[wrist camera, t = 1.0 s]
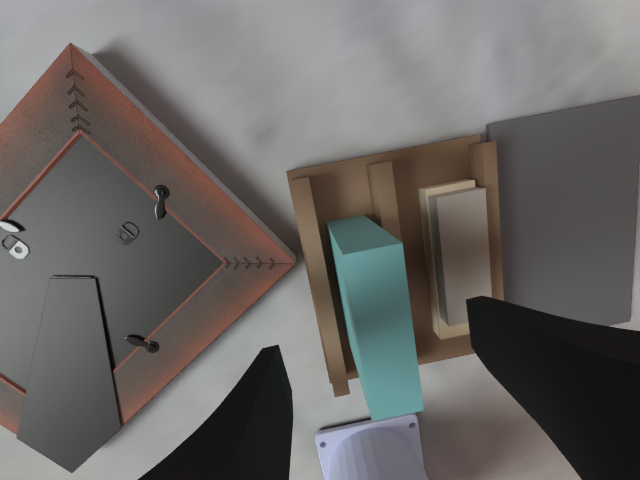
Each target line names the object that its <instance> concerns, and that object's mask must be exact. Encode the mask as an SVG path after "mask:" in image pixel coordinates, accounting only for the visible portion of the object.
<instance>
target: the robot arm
mask: <svg viewBox="0 0 640 480" xmlns="http://www.w3.org/2000/svg"><path fill="white" fill-rule="evenodd" d="M466 306H467V315H468V323H469V331H470V340H471V347H472V348H473V350H474V351H475V353H476V354H477V356H478V357H479V359H480V360H481V361H482V363H483V364H484V365H485V367H486V368H487V369H488V371H489V372H490V373H491V374H492V375H493V376H494V377H495V378H496V379H497V380H498V382H499V383H500V384H501V385H502V386H503V387H504V388H505V389H506V390H507V391H508V392H509V393H510V394H511V395H512V397H513V398H514V399H515V400H516V401H517V402H518V403H519V404H520V405H521V406H522V407H523V408H524V409H525V410H526V411H527V413H528V414H529V415H530V416H531V417H532V418H533V419H534V420H535V421H536V422H537V423H538V424H539V426H540V427H541V428H542V429H543V430H544V431H545V432H546V434H547V435H548V436H549V437H550V439H551V440H552V441H553V442H554V444H555V445H556V446H557V448H558V449H559V450H560V451H561V453H562V454H563V455H564V456H565V458H566V459H567V460H568V462H569V463H570V464H571V465H572V467H573V468H574V469H575V471H576V472H577V473H578V475H579V476H580V478H581V479H582V480H640V331H634V330H627V329H621V328H614V327H609V326H603V325H598V324H592V323H587V322H582V321H578V320H573V319H569V318H565V317H561V316H556V315H552V314H549V313H545V312H541V311H537V310H534V309H530V308H527V307H523V306H520V305H516V304H513V303H509V302H506V301H502V300H499V299H495V298H491V297H486V296H478V297H474V298H469V299H466ZM410 423H413V424H410ZM292 428H293V402H292V389H291V386H290V383H289V379H288V376H287V372H286V369H285V366H284V362H283V359H282V355H281V352H280V348H279V345H275V346H271V347H267V348H262V350H261V351H260V352H259V354H258V355H257V357H256V358H255V360H254V361H253V362H252V364H251V365H250V367H249V368H248V369H247V371H246V372H245V374H244V375H243V376H242V378H241V379H240V380H239V382H238V383H237V385H236V386H235V387H234V388H233V389H232V391H231V392H230V393H229V394H228V396H227V397H226V398H225V399H224V401H223V402H222V403H221V404H220V405H219V407H218V408H217V409H216V410H215V411H214V412H213V413H212V414H211V415H210V417H209V418H208V419H207V420H206V421H205V422H204V423H203V424H202V425H201V426H200V427H199V428H198V429H197V430H196V431H195V432H194V433H193V434H192V435H190V436H189V437H188V438H187V439H186V440H185V441H184V442H183V443H182V444H181V445H179V446H178V447H177V448H176V449H175V450H174V451H173V452H172V453H171V454H169V455H168V456H167V457H166V458H165V459H163V460H162V461H161V462H160V463H158V464H157V465H156V466H155V467H154V468H152V469H151V470H150V471H148V472H147V473H146V474H144V475H143V476H142V477H141V478H139V479H138V480H289V470H290V456H291V443H292ZM315 441H316V445H317V449H318V454H319V458H320V462H321V466H322V471H323V475H324V479H325V480H428V477H427V475H426V473H425V470H424V463H423V456H422V448H421V441H420V433H419V426H418V418H417V416H416V414H415V413H410V414H405V415H401V416H396V417H391V418H386V419H382V420H377V421H372V420H367V421H362V422H358V423H353V424H348V425H344V426H339V427H334V428H329V429H325V430H320V431H318V432H317V433H316V434H315ZM321 442H325V443H321Z"/></svg>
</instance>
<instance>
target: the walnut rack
mask: <svg viewBox="0 0 640 480" xmlns="http://www.w3.org/2000/svg"><path fill="white" fill-rule="evenodd" d="M286 172H287V177H288V182H289V187H290V192H291V196H292V201H293V206H294V211H295V216H296V221H297V225H298V230H299V235H300V240H301V245H302V250H303V254H304V259H305V264H306V269H307V274H308V279H309V283H310V288H311V293H312V298H313V303H314V307H315V312H316V317H317V322H318V327H319V332H320V336H321V341H322V346H323V351H324V356H325V361H326V365H327V370H328V375H329V380H330V383H332V385H333V390H334V395H335V397H338V396H343V395H348V394H350V391H349V385H348V380H349V379H354V378H359V375H358V371H357V368H356V364H355V361H354V357H353V354H352V351H351V347H350V344H349V340H348V337H347V332H346V327H345V322H344V316H343V311H342V305H341V300H340V294H339V289H338V284H337V278H336V273H335V267H334V262H333V256H332V251H331V246H330V240H329V235H328V229H327V224H326V222H330V221H335V220H341V219H346V218H351V217H356V216H361V215H364V216H366V217H367V218H369V219H370V220H371V221H373V222H374V223H375V224H377V225H378V226H380V227H381V228H382V229H384V230H385V231H386V232H388V233H389V234H391V235H392V236H393V237H395V238H396V239H398V240H399V241H400V242H402V243H403V251H404V259H405V267H406V275H407V283H408V291H409V299H410V307H411V314H412V322H413V330H414V338H415V346H416V354H417V362H418V365H421V364H426V363H431V362H435V361H440V360H445V359H450V358H455V357H459V356H464V355H469V354H474V353H475V351H474V350H473V348H472V347H471V340H470V334H466V335H461V336H456V337H451V338H446V339H440V338H439V337H438V335H437V334H436V333H435V332H434V331H433V323H432V314H431V305H430V296H429V287H428V278H427V269H426V260H425V251H424V242H423V232H422V223H421V214H420V205H419V196H418V188H422V187H427V186H432V185H437V184H442V183H447V182H452V181H458V180H463V179H469V180H475V187H478V188H486V205H487V222H488V239H489V256H490V273H491V291H492V298H495V299H499V300H502V301H504V294H503V274H502V253H501V233H500V212H499V191H498V171H497V150H496V141H490V142H483V143H481V136H480V134H479V135H474V136H469V137H463V138H458V139H453V140H448V141H443V142H437V143H432V144H427V145H422V146H416V147H411V148H406V149H401V150H396V151H390V152H385V153H380V154H375V155H370V156H364V157H359V158H354V159H349V160H343V161H338V162H333V163H328V164H323V165H317V166H312V167H307V168H302V169H297V170H291V171H286Z"/></svg>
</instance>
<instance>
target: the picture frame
mask: <svg viewBox="0 0 640 480" xmlns="http://www.w3.org/2000/svg"><path fill="white" fill-rule="evenodd" d="M296 257H297V255H295V254H294V253H293V252H292V251H291V250H290V249H289V248H288V247H287V246H286V245H285V244H284V243H283V242H282V241H281V240H280V239H279V238H278V237H277V236H276V235H275V234H274V233H273V232H272V231H271V230H270V229H269V228H268V227H267V226H266V225H265V224H264V223H263V222H262V221H261V220H260V219H259V218H258V217H257V216H256V215H255V214H254V213H253V212H252V211H251V210H250V209H249V208H248V207H247V206H246V205H245V204H244V203H243V202H242V201H241V200H239V199H238V198H237V197H236V196H235V195H234V194H233V193H232V192H231V191H230V190H229V189H228V188H227V187H226V186H225V185H224V184H223V183H222V182H221V181H220V180H219V179H218V178H217V177H216V176H215V175H214V174H213V173H212V172H211V171H210V170H209V169H208V168H207V167H206V166H205V165H204V164H203V163H202V162H201V161H200V160H199V159H198V158H197V157H196V156H195V155H194V154H193V153H192V152H191V151H190V150H189V149H188V148H187V147H186V146H185V145H184V144H182V143H181V142H180V141H179V140H178V139H177V138H176V137H175V136H174V135H173V134H172V133H171V132H170V131H169V130H168V129H167V128H166V127H165V126H164V125H163V124H162V123H161V122H160V121H159V120H158V119H157V118H156V117H155V116H154V115H153V114H152V113H151V112H150V111H149V110H148V109H147V108H146V107H145V106H144V105H143V104H142V103H141V102H140V101H139V100H138V99H137V98H136V97H135V96H134V95H133V94H132V93H131V92H130V91H129V90H128V89H126V88H125V87H124V86H123V85H122V84H121V83H120V82H119V81H118V80H117V79H116V78H115V77H114V76H113V75H112V74H111V73H110V72H109V71H108V70H107V69H106V68H105V67H104V66H103V65H102V64H101V63H100V62H99V61H98V60H97V59H96V58H95V57H94V56H93V55H92V54H90V53H88V52H86V51H85V50H83V49H81V48H79V47H77V46H75V45H74V44H72V43H69V45H68V46H67V47H66V48H65V49H64V51H63V52H62V53H61V54H60V55H59V56H58V58H57V59H56V60H55V61H54V62H53V63H52V65H51V66H50V67H49V68H48V69H47V71H46V72H45V73H44V74H43V75H42V76H41V78H40V79H39V80H38V81H37V82H36V83H35V85H34V86H33V87H32V88H31V89H30V91H29V92H28V93H27V94H26V95H25V96H24V98H23V99H22V100H21V101H20V102H19V103H18V105H17V106H16V107H15V108H14V109H13V111H12V112H11V113H10V114H9V115H8V116H7V118H6V119H5V120H4V121H3V122H2V123H1V125H0V425H2V426H3V427H5V428H7V429H8V430H10V431H11V432H13V433H14V434H16V435H17V439H18V440H20V441H22V442H23V443H25V444H26V445H28V446H30V447H31V448H33V449H34V450H36V451H37V452H39V453H41V454H42V455H44V456H45V457H47V458H49V459H50V460H52V461H53V462H55V463H57V464H58V465H60V466H61V467H63V468H64V469H66V470H68V471H69V472H71V473H73V472H74V471H75V470H76V469H77V468H78V467H79V466H81V465H82V464H83V463H84V462H85V461H86V460H87V459H88V458H89V457H90V456H91V455H93V454H94V453H95V452H96V451H97V450H98V449H99V448H100V447H101V446H102V445H103V444H105V443H106V442H107V441H108V440H109V439H110V438H111V437H112V436H113V435H114V434H115V433H117V432H118V431H119V430H120V429H121V428H122V426H123V425H124V424H125V423H126V422H127V421H128V420H129V419H130V418H131V417H132V416H134V415H135V414H136V413H137V412H138V411H139V410H140V409H141V408H142V407H143V406H144V405H145V404H146V403H147V402H148V401H150V400H151V399H152V398H153V397H154V396H155V395H156V394H157V393H158V392H159V391H160V390H161V389H162V388H163V387H165V386H166V385H167V384H168V383H169V382H170V381H171V380H172V379H173V378H174V377H175V376H176V375H177V374H178V373H180V372H181V371H182V370H183V369H184V368H185V367H186V366H187V365H188V364H189V363H190V362H191V361H192V360H193V359H194V358H196V357H197V356H198V355H199V354H200V353H201V352H202V351H203V350H204V349H205V348H206V347H207V346H208V345H209V344H211V343H212V342H213V341H214V340H215V339H216V338H217V337H218V336H219V335H220V334H221V333H222V332H223V331H224V330H226V329H227V328H228V327H229V326H230V325H231V324H232V323H233V322H234V321H235V320H236V319H237V318H238V317H239V316H240V315H242V314H243V313H244V312H245V311H246V310H247V309H248V308H249V307H250V306H251V305H252V304H253V303H254V302H255V301H257V300H258V299H259V298H260V297H261V296H262V295H263V294H264V293H265V292H266V291H267V290H268V289H269V288H270V287H272V286H273V285H274V284H275V283H276V282H277V281H278V280H279V279H280V278H281V277H282V276H283V275H284V274H285V273H286V272H288V271H289V270H290V269H291V268H292V267H293V266H294V265H295V264H296Z"/></svg>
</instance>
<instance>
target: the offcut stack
mask: <svg viewBox="0 0 640 480" xmlns="http://www.w3.org/2000/svg"><path fill="white" fill-rule="evenodd" d="M418 196H419V205H420V214H421V223H422V232H423V242H424V251H425V260H426V269H427V278H428V287H429V296H430V305H431V314H432V323H433V331H434V332H435V333H436V334H437V335H438V337H439V338H440V339H446V338H451V337H456V336H461V335H466V334H470V331H469V323H468V315H467V306H466V299H469V298H474V297H478V296H486V297H491V298H492V291H491V273H490V256H489V239H488V222H487V205H486V188H478V187H475V180H469V179H463V180H458V181H452V182H447V183H442V184H437V185H432V186H427V187H422V188H418Z"/></svg>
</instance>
